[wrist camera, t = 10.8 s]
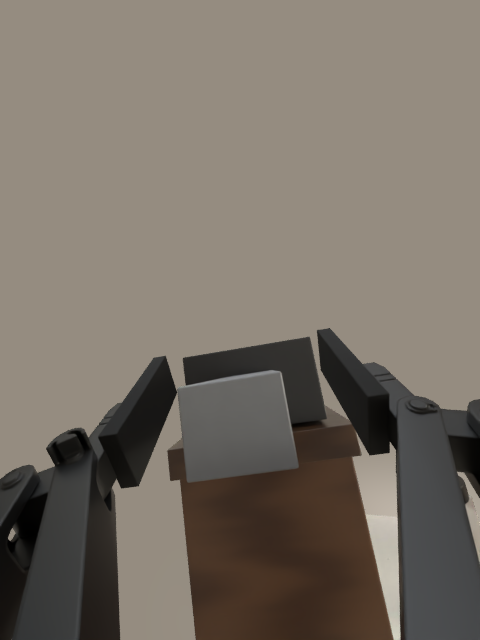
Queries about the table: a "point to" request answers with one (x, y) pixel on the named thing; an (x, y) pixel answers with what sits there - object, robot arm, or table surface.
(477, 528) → the jar
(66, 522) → the robot arm
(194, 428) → the sledgehammer head
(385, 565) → the table surface
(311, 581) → the stand
